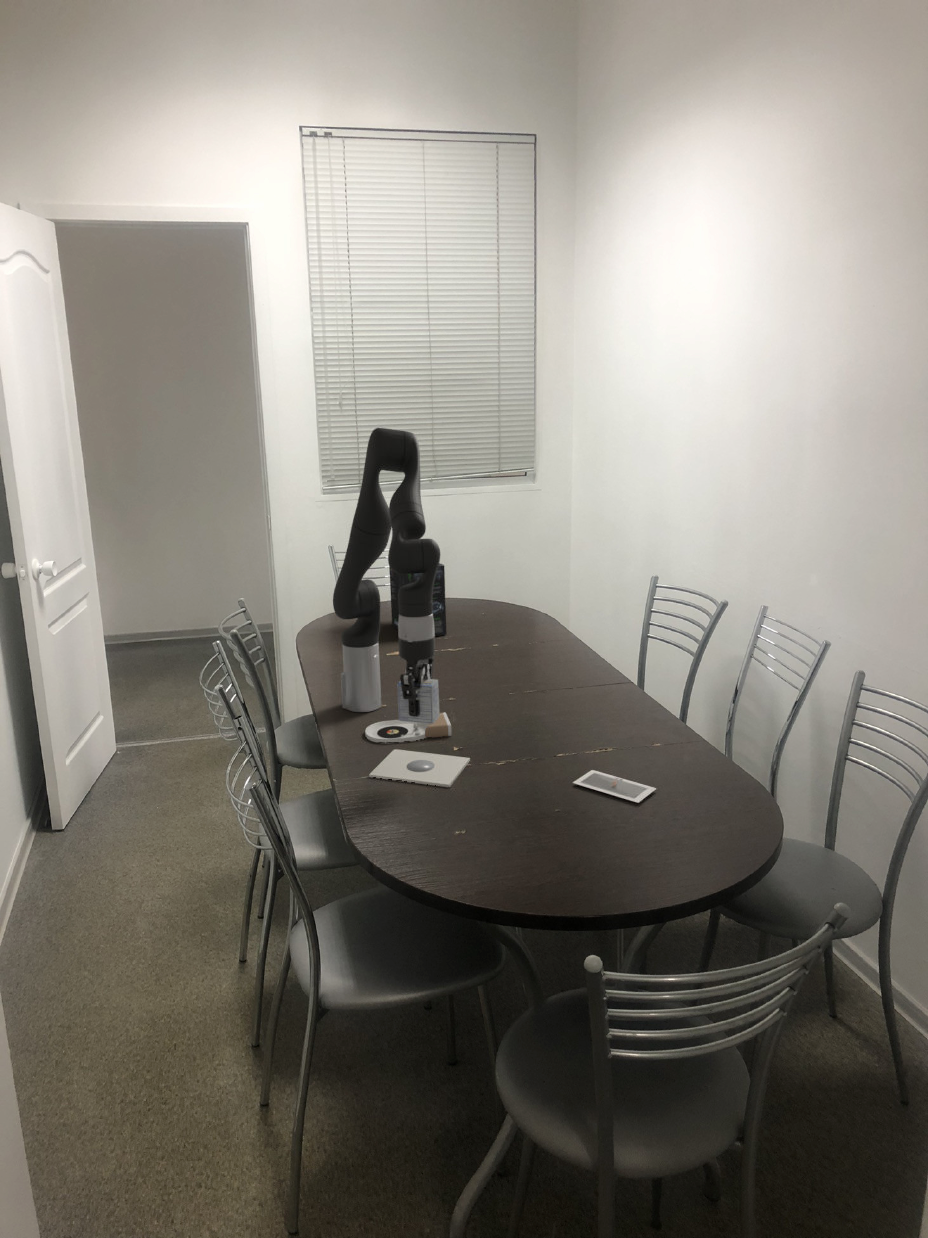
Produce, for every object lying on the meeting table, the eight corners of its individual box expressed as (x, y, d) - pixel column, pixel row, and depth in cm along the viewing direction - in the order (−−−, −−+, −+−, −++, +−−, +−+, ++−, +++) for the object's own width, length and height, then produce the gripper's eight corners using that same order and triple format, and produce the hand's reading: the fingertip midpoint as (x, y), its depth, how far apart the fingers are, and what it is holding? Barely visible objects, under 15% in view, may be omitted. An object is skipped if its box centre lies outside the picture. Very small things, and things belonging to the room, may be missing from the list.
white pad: (369, 776, 185) (369, 773, 185) (394, 751, 198) (394, 748, 198) (449, 787, 180) (449, 784, 180) (470, 760, 193) (470, 757, 193)
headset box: (390, 624, 306) (387, 551, 300) (422, 620, 311) (420, 548, 305) (414, 640, 287) (411, 562, 280) (447, 635, 291) (446, 559, 285)
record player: (452, 727, 205) (366, 735, 202) (452, 739, 206) (367, 747, 202) (444, 709, 216) (363, 716, 213) (444, 721, 217) (364, 728, 213)
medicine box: (439, 717, 187) (439, 679, 185) (433, 724, 183) (432, 685, 181) (405, 714, 189) (403, 676, 187) (398, 721, 185) (396, 682, 183)
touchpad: (638, 807, 171) (638, 797, 170) (572, 787, 180) (572, 777, 179) (656, 793, 177) (656, 783, 176) (592, 774, 186) (592, 765, 185)
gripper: (412, 624, 189) (414, 698, 194) (386, 642, 176) (389, 721, 180) (444, 626, 187) (446, 702, 191) (421, 645, 174) (423, 725, 178)
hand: (418, 711), depth 186 cm, fingers closed on medicine box, 4 cm apart
